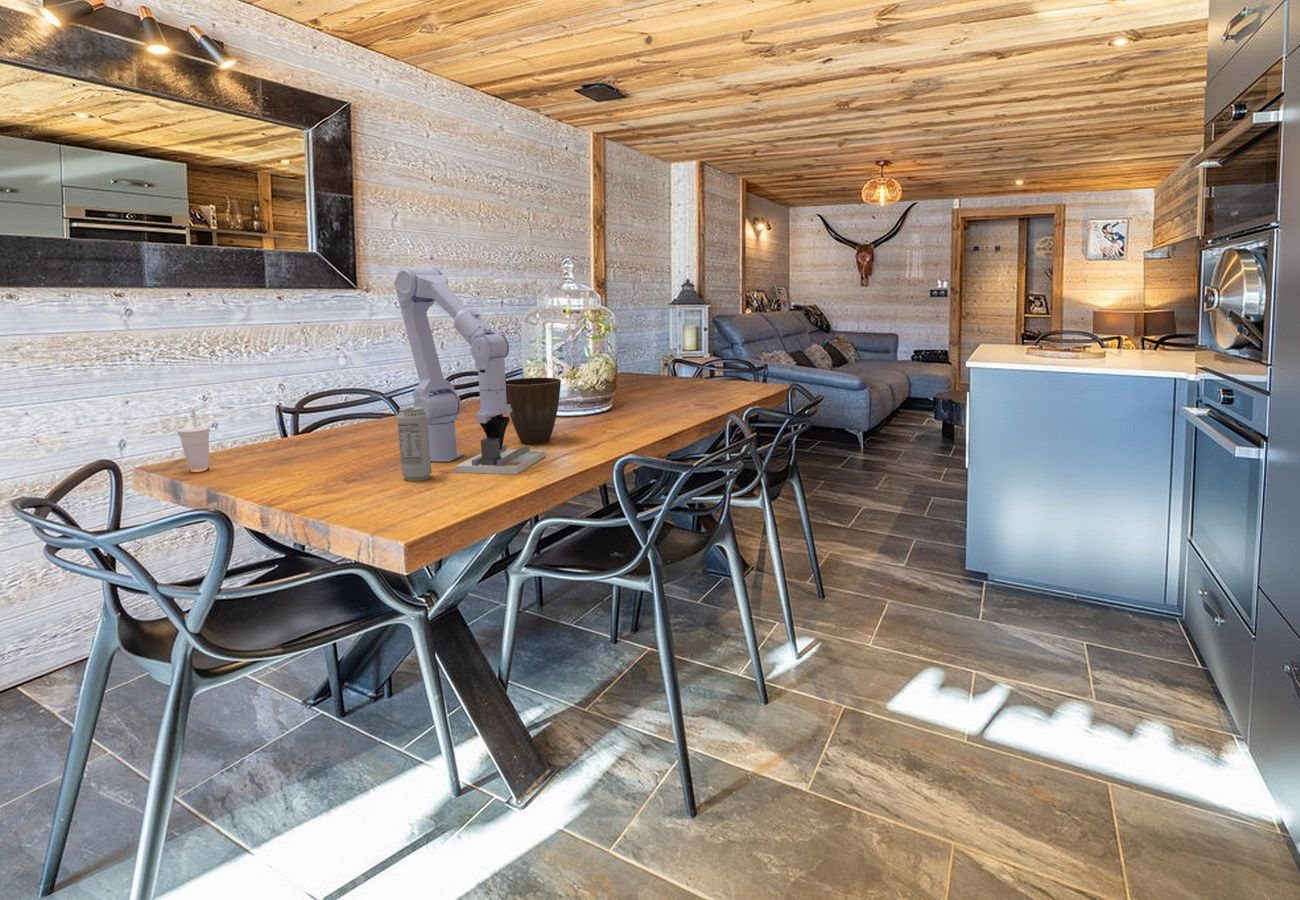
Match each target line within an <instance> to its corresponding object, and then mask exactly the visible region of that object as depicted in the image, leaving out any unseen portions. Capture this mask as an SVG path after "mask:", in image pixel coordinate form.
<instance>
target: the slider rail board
mask: <svg viewBox="0 0 1300 900" xmlns="http://www.w3.org/2000/svg"><path fill="white" fill-rule="evenodd" d="M545 454H546V451H545V450H542V449H539V450H538V449H530V445H527V444H524V445H523V446H521V447H520V448H518V449H510V448H509V449H508V448H507V444H503V446H502V449H501V450H500V456H501V459H499V460H498V461H497V464H496V465H481V459H482V452H481V453H479V454H477V455H474V456H473V457H470V458H468V459H466V460H464V461H463V462H461V463H459V464H456V465H455V473H460V474H463V473H464V474H465V473H466V474H493V475H494V474H495V475H496V474H497V475H518V474H519V473H521V472H523V471H524V470H525V469H528V468H529V467H530V466H533V465H534V464H536V463H537V462H538V461H540V460H542V459H543V458H545V457H546V455H545Z"/></svg>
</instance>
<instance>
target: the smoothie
mask: <svg viewBox="0 0 1300 900" xmlns="http://www.w3.org/2000/svg"><path fill="white" fill-rule="evenodd" d="M191 414H192V421H193V426H192V427H189V426H188V427H183V428H179V429H177V431H176V432H177V436H179V439H180V443H181V446H182V448H183V452H184V455H185V459H186V462H187V466H188V469H202V468H207V467H209V468H210V432H211V430H210V427H209V426H198V425H197V424H198V423H197V418H196V417H197V416H196V410H195V409H191Z"/></svg>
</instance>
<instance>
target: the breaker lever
mask: <svg viewBox="0 0 1300 900" xmlns="http://www.w3.org/2000/svg"><path fill="white" fill-rule="evenodd" d="M480 448H481V450H480V451H481V453H482V459H481V465H496V464H497V461H498V460H499V459H501V456H500V443H499V438H488V437H487V436H486V437H484V438H482V439H480Z"/></svg>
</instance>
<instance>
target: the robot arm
mask: <svg viewBox="0 0 1300 900" xmlns="http://www.w3.org/2000/svg"><path fill="white" fill-rule="evenodd" d="M448 281H449V280H448V277H447V276H446V275H445V274H443V271H441V269H439V268H434V267H433V268H410V267H409V268H408V267H403V268H401V269H399V270H398V271H397V275H396V277H395V279H394V281H393V283H394V289H395V291H396V296H397V300H398V304H399V306H400V307H399V308H400V312H401V315H402V318H403V323H404V327H405V332H406V335H407V339H408V342H409V346H410V350H411V353H412V358H413V362H414V365H415V369H416V372H417V375H418V379H419V384H418V385H417V387H416V388H415V389H414V391H412V397H413V407H423V410H424V412H425V413H426V415H427V421H428V434H429V446H430V458H431V462H445V463H446V462H447V463H449V462H452V461H454V460H456V459H458V458H460V457H462V456H464V455H465V454H464V453H465V452H458V450H457V448H458V447H457V438H456V437H457V436H456V423H455V422H456V421H455V420H458V416H459V414H460V413H461V409H462V402H461V398H460V396H459V395H458V394H457V392H456V390H455V386H454V384H453V383H451V382H450V381H449V380H447V379H446V378H445V377H444V375H443V372H442V367H441V363H440V360H439V357H438V353H437V348H436V345H435V341H434V337H433V333H432V330H431V329H432V328H431V325H430V321H429V318H428V313H427V312H428V311H429V309H430V308H431V307H432V306H433V305H434V304H435V303H437V304H438V305H439V306H440V307H441V308H442V309H443V310H444V311H445V312H446V313H447V314H448V315H449V316H450V317H451V318H452V319H454V321H453V325H454V328H455V329H456V330H457V331H456V332H458V333H459V334H460V335H461V337H463V339H464V340H465V341H466V342H467V343H468V344H469V345H470V346H471V347H470V353H471V355H472V357H473V359H474V361H475V367H476V369H477V372H478V374H477V375H478V384H479V385H478V387H479V404H480V409H479V411H478V413H476V414H475V418H476V424H479V425H480V426H481V428H482V429H483V431H484V434H485V436H486V437H488V438H499V443H500V450H501V449H502V446H503V445H504V439H505V434H506V430H507V427H508V425H509V423H510V420H511V417H510V416H504V415H506V414H510V413H511V412H512V409H511V405H510V404H507V399H506V382H505V381H506V365H505V359H506V358H507V357H508V355H509V352H510V343H509V341H508V338H507V337H506V336H505V334H504V333H502V332H496V331H495V330H493V329H492V327H491V326H489V325H488V324H487V323H486V322H485V321H484V320H483V319H482V317H481V316H480V312H478V311H477V310H474V309H467V308H466V307H465V305H464V304H463V303H462V302H461V300H460V299H459V298H458V296H457V295H456V294H455V293H454V291H453V290H452V289H451V287H450V286H449V282H448Z"/></svg>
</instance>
